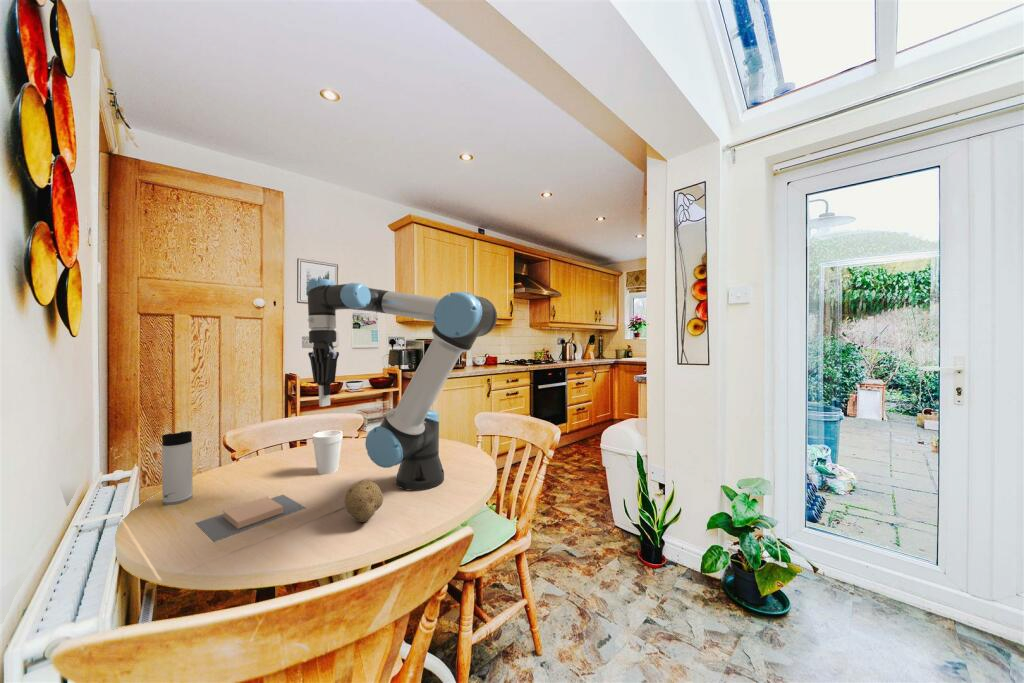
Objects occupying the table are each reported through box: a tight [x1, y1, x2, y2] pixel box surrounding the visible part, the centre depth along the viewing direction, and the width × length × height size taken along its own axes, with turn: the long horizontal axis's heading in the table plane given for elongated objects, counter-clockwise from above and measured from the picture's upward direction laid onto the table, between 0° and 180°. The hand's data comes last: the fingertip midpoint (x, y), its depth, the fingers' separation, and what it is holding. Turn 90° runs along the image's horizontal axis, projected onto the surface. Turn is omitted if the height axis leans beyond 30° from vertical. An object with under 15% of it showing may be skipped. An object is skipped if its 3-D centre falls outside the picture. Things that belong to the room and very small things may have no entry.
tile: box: [222, 496, 283, 529], centre depth 94 cm, size 2×10×10 cm
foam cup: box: [312, 429, 344, 475], centre depth 126 cm, size 10×9×13 cm
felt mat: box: [194, 494, 306, 543], centre depth 94 cm, size 14×20×1 cm
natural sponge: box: [344, 480, 384, 523], centre depth 93 cm, size 9×9×10 cm
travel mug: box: [161, 430, 194, 507], centre depth 102 cm, size 6×7×20 cm
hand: (324, 405), depth 112 cm, fingers closed
